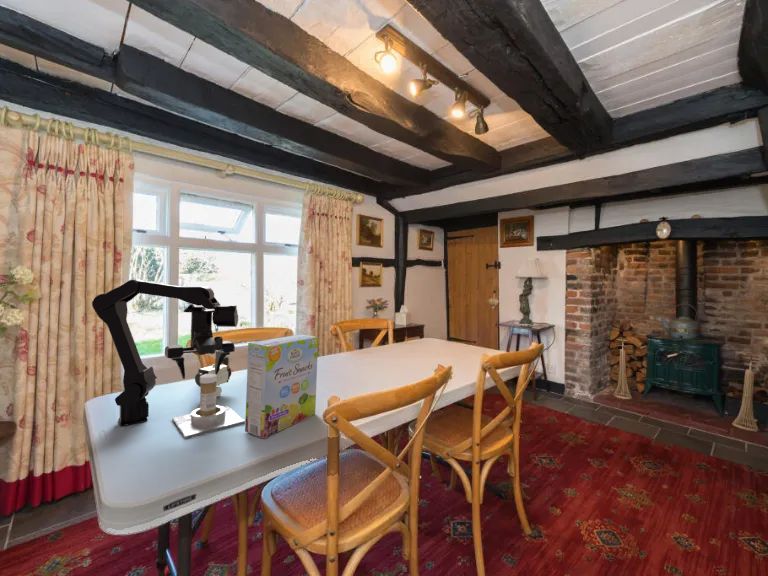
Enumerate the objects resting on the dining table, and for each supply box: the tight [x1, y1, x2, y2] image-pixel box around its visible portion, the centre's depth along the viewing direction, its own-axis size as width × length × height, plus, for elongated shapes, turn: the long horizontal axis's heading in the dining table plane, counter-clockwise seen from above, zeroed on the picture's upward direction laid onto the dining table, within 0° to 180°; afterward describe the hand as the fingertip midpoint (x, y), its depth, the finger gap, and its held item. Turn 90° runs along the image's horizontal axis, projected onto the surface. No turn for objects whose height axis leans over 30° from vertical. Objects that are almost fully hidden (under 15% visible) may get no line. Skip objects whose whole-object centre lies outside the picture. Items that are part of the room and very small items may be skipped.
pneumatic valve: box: [194, 363, 232, 398], centre depth 127 cm, size 6×12×12 cm, turn 152°
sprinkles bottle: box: [199, 374, 217, 416], centre depth 105 cm, size 5×5×13 cm
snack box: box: [244, 333, 319, 439], centre depth 105 cm, size 22×9×26 cm, turn 151°
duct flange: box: [172, 405, 245, 440], centre depth 105 cm, size 16×16×3 cm
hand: (200, 376), depth 109 cm, fingers open, 9 cm apart
